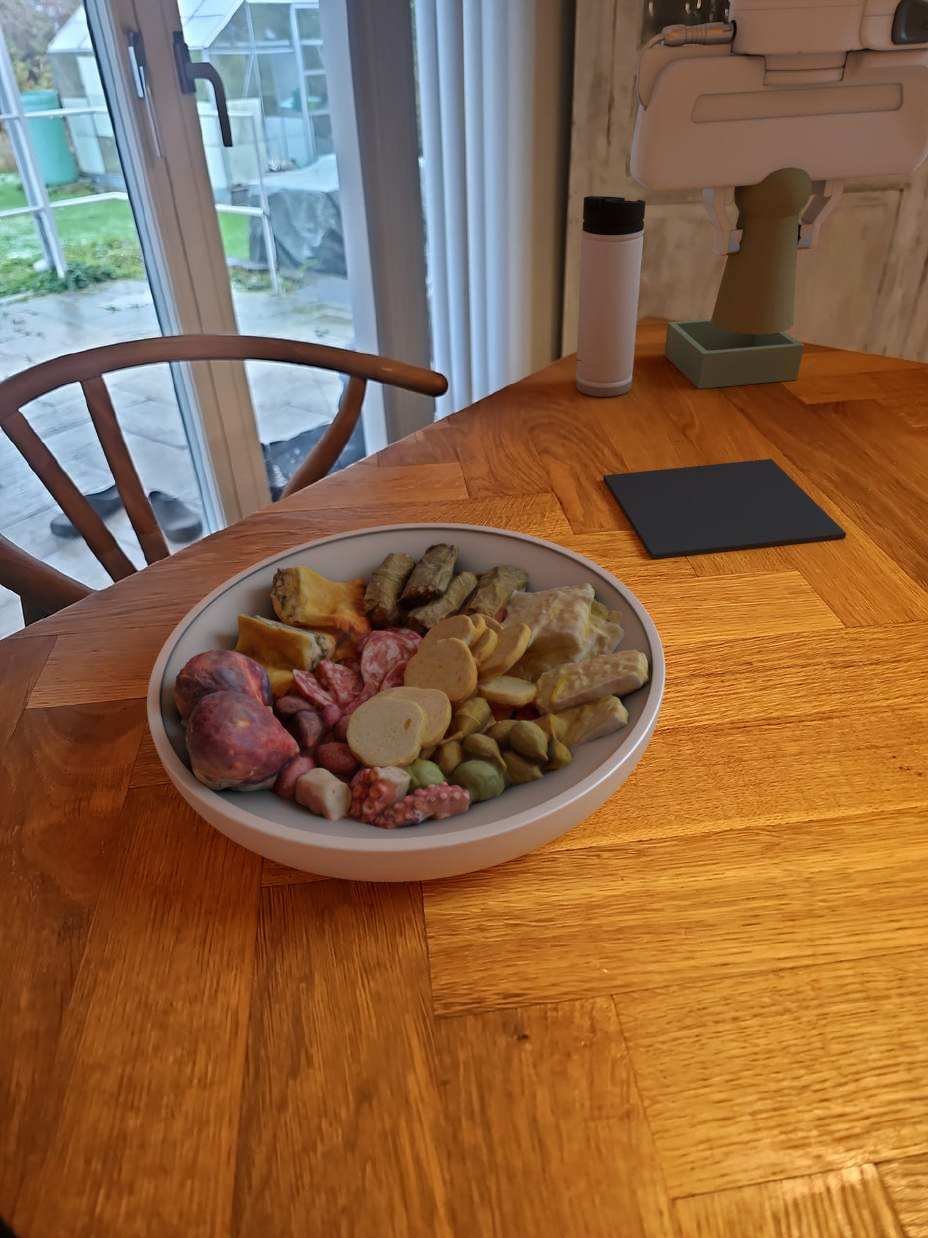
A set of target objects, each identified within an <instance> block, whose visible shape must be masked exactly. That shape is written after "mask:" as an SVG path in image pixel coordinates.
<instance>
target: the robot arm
mask: <svg viewBox="0 0 928 1238" xmlns="http://www.w3.org/2000/svg"><path fill="white" fill-rule="evenodd" d="M727 18H728V19H727V21H721V22H708V23H707V22H706V23H702V24H697V25H685V24H672V25H667V26H665V27H663V29H662V30H661V33H658V34H656V35H654V36H653V37H652V38H650V39H649V40H648V41H647V43H645V45H644V47H643V48H642V49H641V52H640V54H639V56H638V61H637V69H636V70H637V71H636V84H635V85H636V86H635V89H636V96H637V99H638V102H639V105H638V110H637V114H636V120H635V125H634V130H633V137H632V143H631V150H630V151H631V152H630V161H629V172H630V174H631V176H632V178H633V179H634V181H635V182H636V183H637V185H638V186H640V188H642V189H644V190H646V191H648V192H651V193H662V192H663V193H664V192H676V191H691V190H702V197H701V198H702V199H701V202H702V204H703V207H704V209H705V211H706V213H707V216H708V218H709V220H710V222H711V225H712V226H713V232H712V233H713V234H712V242H711V251H712V254H714V255H716V256H717V257H726V256H728V255H736V254H738V253H739V252H740V249H741V245H740V241H741V240H742V235H743V229H742V228H740V227H737V226H736V224H732V223H731V221H730V218H729V216H728V213H727V210H726V207H725V205H732V203H733V200H734V189H735V186H748V185H756V184H759V183H760V182H761V181H762V180H763V179H764V178H766V177H767V176H768V175H769V174H770V173H771V172H774V171H777V170H779V169H783V168H799V169H802V170H804V171H806V172H807V173H808V175H809V176H810V179H811V181H813V187H812V192H811V194H814V196H813V198H812V199H811V201H810V203H809V204H808V206H807V208H806V210H805V211H804V212H803V214H802V215H801V217H800V218H799V223H798V242H797V251H801V250H814V249H815V248H816V247H817V245H818V239H819V235H820V229H821V224H823V223H824V222H825V220H826V219H827V218H828V216H830V214H831V212H832V210H834V208H835V207H836V205H837V204H838V202H839V201H840V199H841V198H842V197H843V192H844V188H845V183H846V182H845V181H846V180H847V179H859V178H872V177H874V178H875V177H885V176H887V177H888V176H901V175H911V174H913V173H914V172H915V171H916V170H917V169H918V168H919V167H920V166H921V164H922V163H924V161H925V160H926V159H927V157H928V0H730V2H729V9H728V17H727ZM660 42H661V45H662V46H660V47H659V46H658V47H654V46H655V45H656V44H658V43H660Z"/></svg>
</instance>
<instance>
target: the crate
mask: <svg viewBox="0 0 928 1238" xmlns="http://www.w3.org/2000/svg"><path fill="white" fill-rule="evenodd" d="M711 319H712V318H704V319H692V320H680V321H679V320H678V321H668V322H667V324H666V336H665V343H664V354H663V356H664V357H666V359H667V360H669V361H670V362H671V364H673V365H674V367H676V368H677V370H678V371H680V372H681V374H683V376H684V377H686V378H687V379H688V380H689V382H691V383H692V384H693V386H695V387H696V389H698V390H702V389H712V388H723V387H725V388H726V387H736V386H747V385H757V384H768V383H769V384H770V383H779V382H781V383H782V382H791V381H797V380H798V377H799V372H800V368H801V362H802V358H803V352H804V348H805V344H804V343H802V342H800V341H799V340H797V339H796V338H795V337H793V336H792V335H791V334H789V333H787V332H786V331H783V332H779V333H773V334H758V335H757V334H742V333H735V332H730V331H726V330H722V329H720V328H718V327H716V326H714V325H713V324H712V323H711Z"/></svg>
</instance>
